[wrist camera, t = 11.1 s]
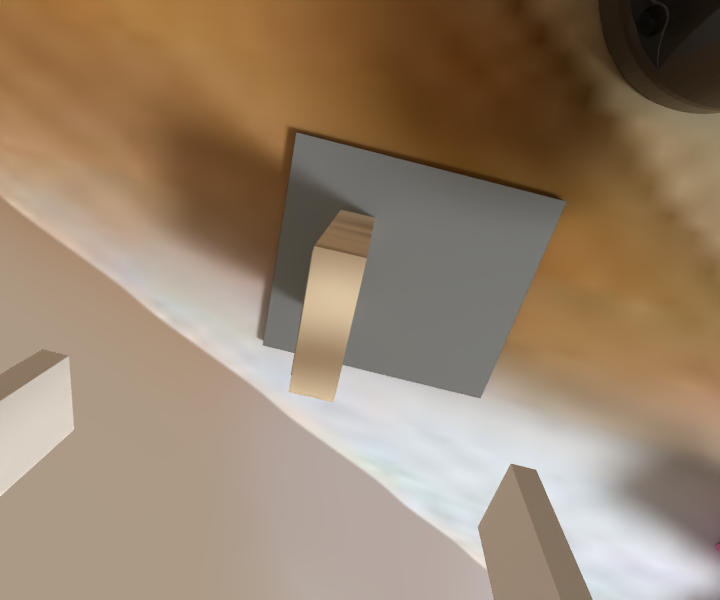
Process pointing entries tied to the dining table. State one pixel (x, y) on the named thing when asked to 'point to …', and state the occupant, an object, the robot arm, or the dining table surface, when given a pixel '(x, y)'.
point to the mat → (413, 261)
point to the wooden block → (330, 304)
